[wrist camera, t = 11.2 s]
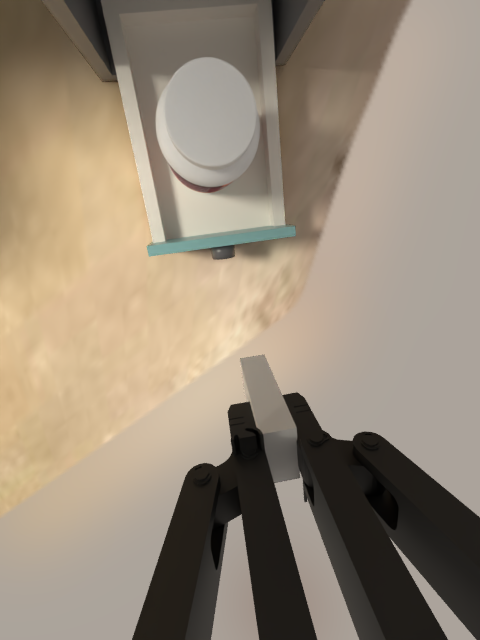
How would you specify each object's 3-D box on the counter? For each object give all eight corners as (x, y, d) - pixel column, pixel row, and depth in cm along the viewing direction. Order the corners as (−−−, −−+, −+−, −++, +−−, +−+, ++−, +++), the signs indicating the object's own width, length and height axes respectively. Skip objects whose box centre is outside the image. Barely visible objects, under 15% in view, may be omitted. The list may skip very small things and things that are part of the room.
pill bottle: (226, 205, 27) (244, 203, 17) (157, 175, 25) (130, 154, 15) (253, 130, 25) (292, 77, 15) (180, 94, 24) (168, 6, 13)
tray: (105, 16, 22) (84, -28, 18) (266, 4, 23) (281, -40, 19) (158, 262, 29) (152, 271, 24) (282, 244, 29) (296, 250, 25)
